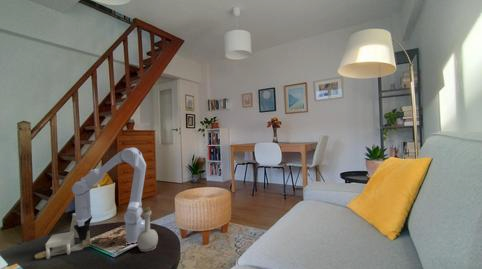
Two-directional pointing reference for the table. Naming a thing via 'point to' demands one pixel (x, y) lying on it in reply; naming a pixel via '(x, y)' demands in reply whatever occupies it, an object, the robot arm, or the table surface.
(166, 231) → the table surface
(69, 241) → the white toy table
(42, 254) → the token
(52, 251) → the blade tool
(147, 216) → the potion bottle
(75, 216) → the stone
